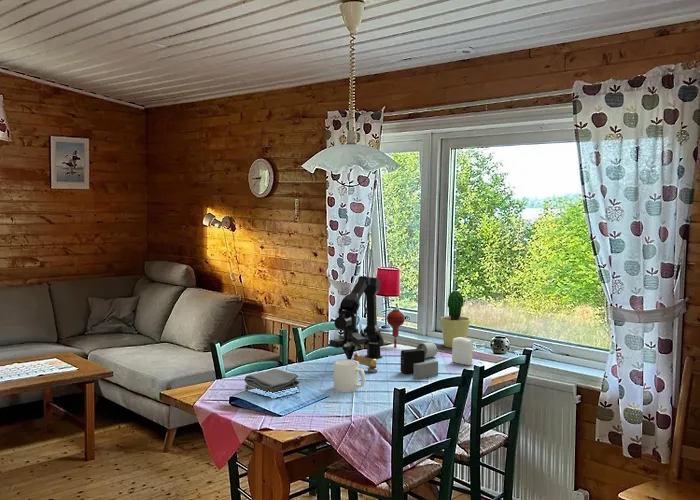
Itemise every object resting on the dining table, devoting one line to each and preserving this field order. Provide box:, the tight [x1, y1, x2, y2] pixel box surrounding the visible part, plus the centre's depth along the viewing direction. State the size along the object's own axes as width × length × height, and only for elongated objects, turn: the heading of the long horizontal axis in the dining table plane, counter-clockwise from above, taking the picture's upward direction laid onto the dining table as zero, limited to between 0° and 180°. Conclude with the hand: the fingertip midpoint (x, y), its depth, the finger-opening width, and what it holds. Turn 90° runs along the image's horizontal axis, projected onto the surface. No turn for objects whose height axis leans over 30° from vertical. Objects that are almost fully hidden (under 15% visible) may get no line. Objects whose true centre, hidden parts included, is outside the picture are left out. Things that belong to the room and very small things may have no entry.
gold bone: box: [353, 353, 377, 368], centre depth 309 cm, size 14×3×4 cm, turn 38°
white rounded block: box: [451, 337, 474, 366], centre depth 323 cm, size 10×4×12 cm, turn 44°
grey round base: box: [367, 367, 378, 374], centre depth 305 cm, size 4×4×2 cm
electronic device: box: [399, 348, 426, 375], centre depth 304 cm, size 4×10×10 cm, turn 115°
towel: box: [243, 368, 300, 394], centre depth 271 cm, size 15×18×8 cm
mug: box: [333, 359, 366, 393], centre depth 276 cm, size 14×10×11 cm
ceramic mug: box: [415, 342, 438, 359], centre depth 336 cm, size 11×8×8 cm
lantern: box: [386, 308, 406, 349], centre depth 356 cm, size 10×10×30 cm
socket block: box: [412, 359, 439, 380], centre depth 298 cm, size 3×12×6 cm, turn 128°
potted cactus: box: [440, 290, 471, 349], centre depth 362 cm, size 15×15×30 cm
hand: (349, 360), depth 307 cm, fingers closed
